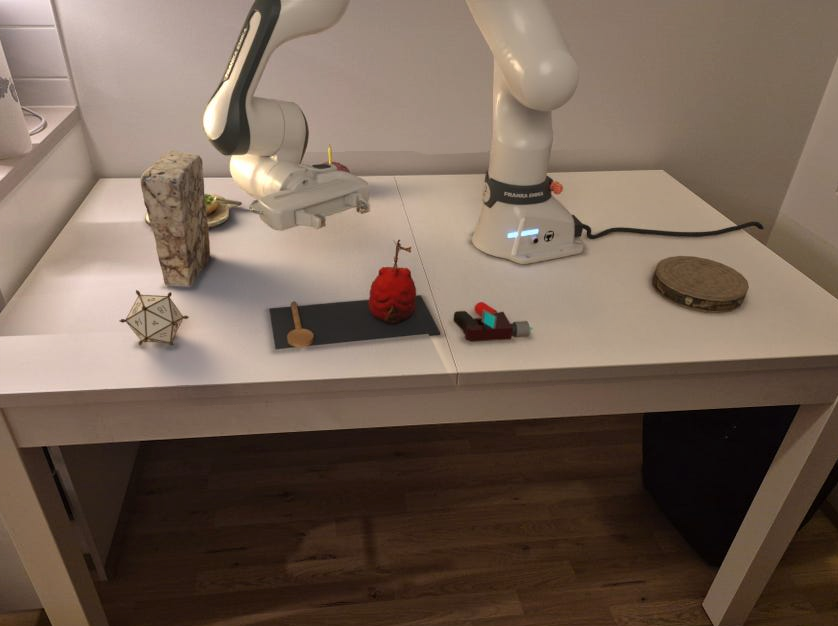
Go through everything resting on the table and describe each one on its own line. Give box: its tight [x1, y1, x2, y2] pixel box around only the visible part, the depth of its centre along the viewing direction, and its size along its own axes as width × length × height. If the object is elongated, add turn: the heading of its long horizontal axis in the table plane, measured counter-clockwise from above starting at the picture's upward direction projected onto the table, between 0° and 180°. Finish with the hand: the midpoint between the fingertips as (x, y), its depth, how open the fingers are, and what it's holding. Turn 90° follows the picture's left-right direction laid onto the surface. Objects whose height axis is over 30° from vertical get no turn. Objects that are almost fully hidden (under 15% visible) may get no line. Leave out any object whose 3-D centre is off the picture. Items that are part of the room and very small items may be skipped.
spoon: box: [287, 300, 314, 348], centre depth 103 cm, size 12×4×1 cm, turn 14°
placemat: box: [268, 294, 441, 350], centre depth 106 cm, size 26×12×1 cm, turn 104°
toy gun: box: [453, 301, 534, 342], centre depth 105 cm, size 10×12×5 cm
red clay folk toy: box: [368, 239, 417, 324], centre depth 103 cm, size 8×7×15 cm
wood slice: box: [651, 255, 750, 314], centre depth 119 cm, size 16×16×3 cm
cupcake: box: [322, 143, 351, 173], centre depth 146 cm, size 9×8×12 cm
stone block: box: [139, 150, 212, 288], centre depth 112 cm, size 13×7×20 cm, turn 2°
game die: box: [119, 289, 190, 346], centre depth 97 cm, size 9×8×10 cm
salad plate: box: [144, 193, 243, 229], centre depth 136 cm, size 19×18×5 cm
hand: (345, 216), depth 106 cm, fingers open, 8 cm apart
